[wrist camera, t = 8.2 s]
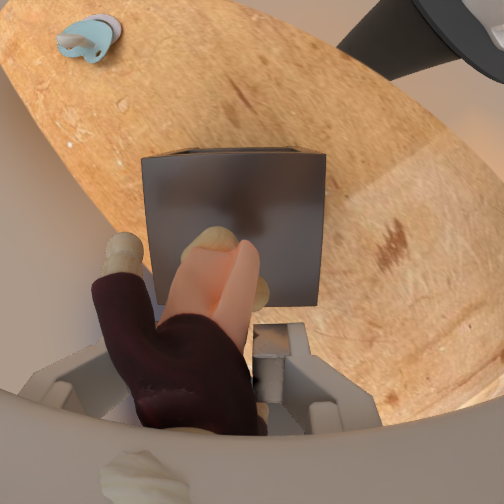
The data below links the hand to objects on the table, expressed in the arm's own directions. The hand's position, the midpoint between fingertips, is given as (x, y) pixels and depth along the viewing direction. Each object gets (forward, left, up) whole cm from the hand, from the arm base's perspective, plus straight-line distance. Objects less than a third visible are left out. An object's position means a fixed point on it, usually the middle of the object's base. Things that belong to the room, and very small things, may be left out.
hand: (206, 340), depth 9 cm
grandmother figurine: (0, 0, -5) cm, 5 cm away
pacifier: (+16, -19, -24) cm, 34 cm away
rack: (0, 0, -24) cm, 24 cm away
